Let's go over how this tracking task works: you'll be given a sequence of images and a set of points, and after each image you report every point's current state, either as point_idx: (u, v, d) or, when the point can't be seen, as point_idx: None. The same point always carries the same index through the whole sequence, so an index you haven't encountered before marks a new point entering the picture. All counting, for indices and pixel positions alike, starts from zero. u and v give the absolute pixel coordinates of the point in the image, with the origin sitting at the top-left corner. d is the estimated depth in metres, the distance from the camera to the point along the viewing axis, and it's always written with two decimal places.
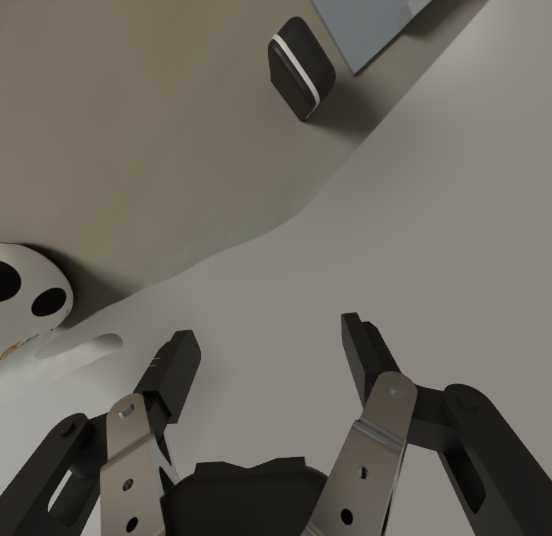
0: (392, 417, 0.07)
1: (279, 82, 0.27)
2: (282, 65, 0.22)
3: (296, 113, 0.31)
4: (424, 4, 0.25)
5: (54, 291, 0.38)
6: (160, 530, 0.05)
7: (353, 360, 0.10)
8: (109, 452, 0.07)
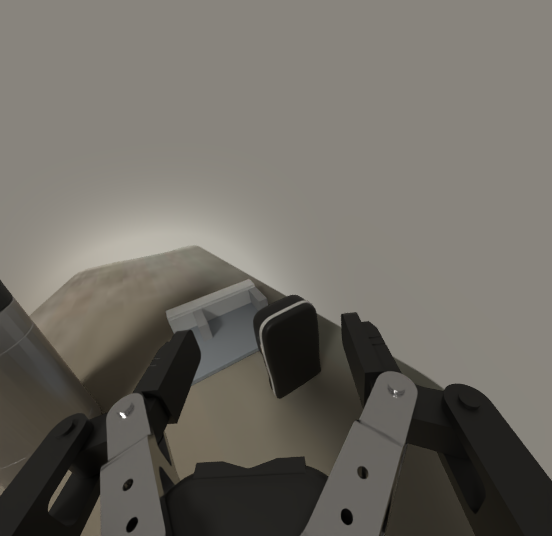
0: (392, 417, 0.07)
1: (287, 366, 0.26)
2: (282, 323, 0.23)
3: (313, 368, 0.29)
4: (262, 295, 0.42)
5: None
6: (160, 530, 0.05)
7: (353, 360, 0.10)
8: (109, 452, 0.07)
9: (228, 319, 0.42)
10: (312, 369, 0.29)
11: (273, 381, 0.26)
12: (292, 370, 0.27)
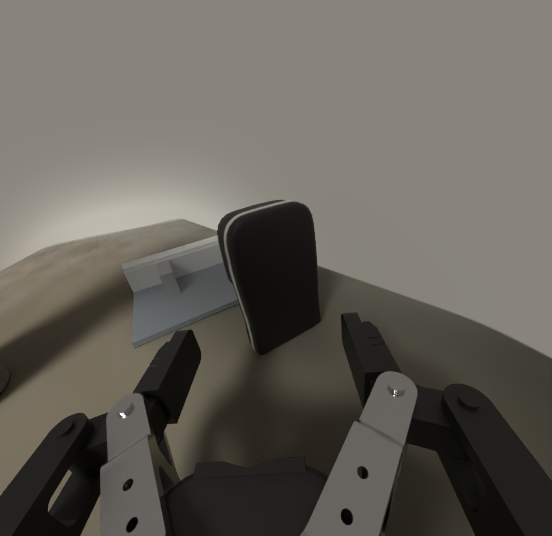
0: (392, 416, 0.07)
1: (270, 301, 0.17)
2: (259, 222, 0.15)
3: (310, 314, 0.20)
4: None
5: None
6: (160, 530, 0.05)
7: (353, 360, 0.10)
8: (109, 452, 0.07)
9: (203, 274, 0.33)
10: (308, 315, 0.20)
11: (250, 326, 0.18)
12: (278, 310, 0.18)
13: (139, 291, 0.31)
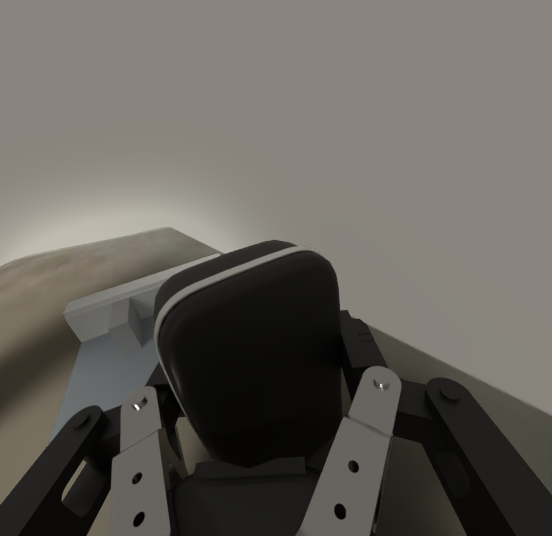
0: (379, 410, 0.07)
1: (259, 432, 0.09)
2: (230, 307, 0.07)
3: (328, 424, 0.12)
4: None
5: None
6: (160, 530, 0.05)
7: (343, 356, 0.10)
8: (121, 443, 0.07)
9: None
10: (325, 426, 0.12)
11: None
12: (274, 439, 0.10)
13: (89, 340, 0.23)
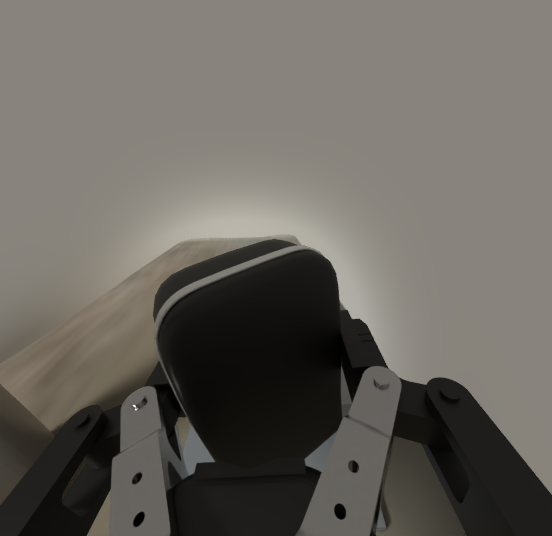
0: (379, 410, 0.07)
1: (259, 431, 0.09)
2: (230, 306, 0.07)
3: (328, 424, 0.12)
4: None
5: None
6: (160, 530, 0.05)
7: (343, 356, 0.10)
8: (121, 443, 0.07)
9: None
10: (325, 425, 0.12)
11: None
12: (274, 439, 0.10)
13: None
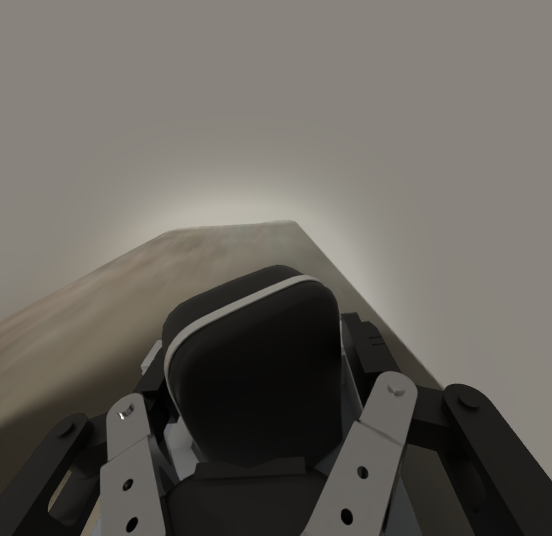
0: (392, 416, 0.07)
1: (262, 452, 0.10)
2: (237, 341, 0.07)
3: (328, 440, 0.12)
4: None
5: None
6: (160, 530, 0.05)
7: (353, 360, 0.10)
8: (109, 452, 0.07)
9: None
10: (326, 441, 0.12)
11: None
12: None
13: None
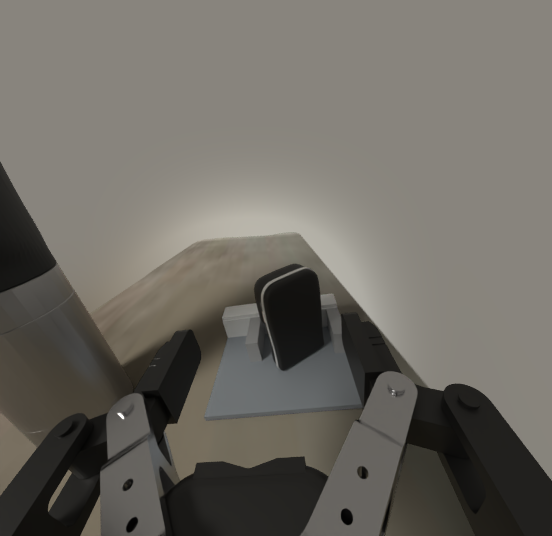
0: (392, 417, 0.07)
1: (290, 335, 0.26)
2: (284, 286, 0.23)
3: (317, 341, 0.28)
4: None
5: None
6: (160, 530, 0.05)
7: (353, 360, 0.10)
8: (109, 452, 0.07)
9: None
10: (315, 341, 0.28)
11: (276, 351, 0.26)
12: (295, 340, 0.26)
13: (232, 338, 0.34)
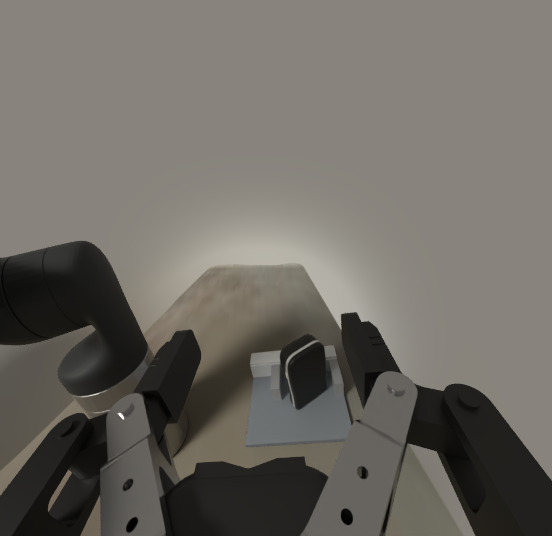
0: (392, 416, 0.07)
1: (304, 386, 0.36)
2: (302, 358, 0.34)
3: (322, 387, 0.39)
4: (340, 376, 0.39)
5: None
6: (160, 530, 0.05)
7: (353, 360, 0.10)
8: (109, 452, 0.07)
9: None
10: (321, 387, 0.39)
11: (294, 397, 0.37)
12: (307, 389, 0.37)
13: (257, 378, 0.45)
